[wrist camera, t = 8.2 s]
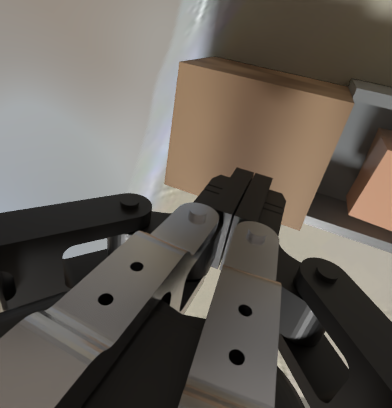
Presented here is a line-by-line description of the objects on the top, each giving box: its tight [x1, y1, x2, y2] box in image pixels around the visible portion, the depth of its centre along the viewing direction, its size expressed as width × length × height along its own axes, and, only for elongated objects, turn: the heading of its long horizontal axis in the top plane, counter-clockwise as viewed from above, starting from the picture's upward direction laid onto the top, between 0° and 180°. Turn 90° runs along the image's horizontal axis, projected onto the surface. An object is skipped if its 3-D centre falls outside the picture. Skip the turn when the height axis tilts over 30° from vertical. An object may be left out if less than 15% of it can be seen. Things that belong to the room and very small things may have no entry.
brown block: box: [164, 57, 355, 231], centre depth 20 cm, size 9×8×6 cm
